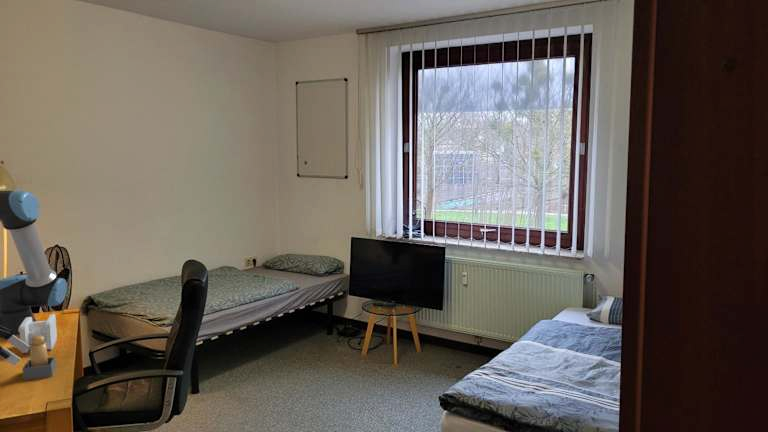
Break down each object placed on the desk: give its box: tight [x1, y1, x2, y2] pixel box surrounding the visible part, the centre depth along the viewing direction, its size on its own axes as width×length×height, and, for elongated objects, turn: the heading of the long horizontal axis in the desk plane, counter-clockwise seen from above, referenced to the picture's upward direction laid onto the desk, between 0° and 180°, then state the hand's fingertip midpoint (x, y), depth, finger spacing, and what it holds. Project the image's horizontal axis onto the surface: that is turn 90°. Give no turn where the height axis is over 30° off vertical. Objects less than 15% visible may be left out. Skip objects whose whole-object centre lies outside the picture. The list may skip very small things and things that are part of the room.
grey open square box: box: [22, 356, 57, 381], centre depth 197 cm, size 8×8×4 cm
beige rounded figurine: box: [29, 335, 49, 367], centre depth 197 cm, size 5×5×12 cm
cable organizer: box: [18, 313, 58, 354], centre depth 223 cm, size 15×11×12 cm
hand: (22, 355), depth 195 cm, fingers open, 13 cm apart
